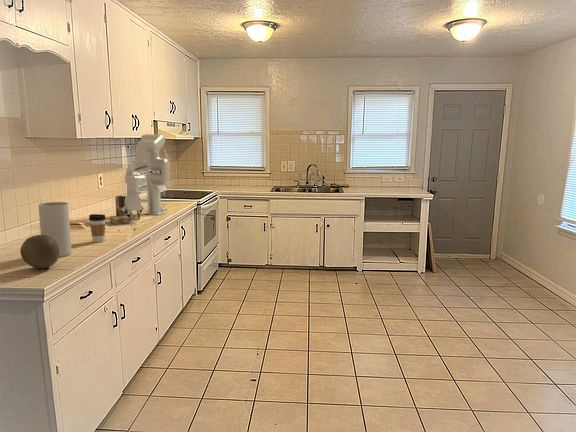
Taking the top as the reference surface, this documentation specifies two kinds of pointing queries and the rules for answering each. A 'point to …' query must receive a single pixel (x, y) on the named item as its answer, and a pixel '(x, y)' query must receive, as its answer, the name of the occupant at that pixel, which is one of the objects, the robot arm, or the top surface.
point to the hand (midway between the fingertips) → (133, 219)
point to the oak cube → (133, 217)
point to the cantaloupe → (40, 251)
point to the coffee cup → (97, 227)
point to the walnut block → (119, 220)
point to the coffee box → (120, 206)
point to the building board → (119, 225)
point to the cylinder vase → (56, 224)
